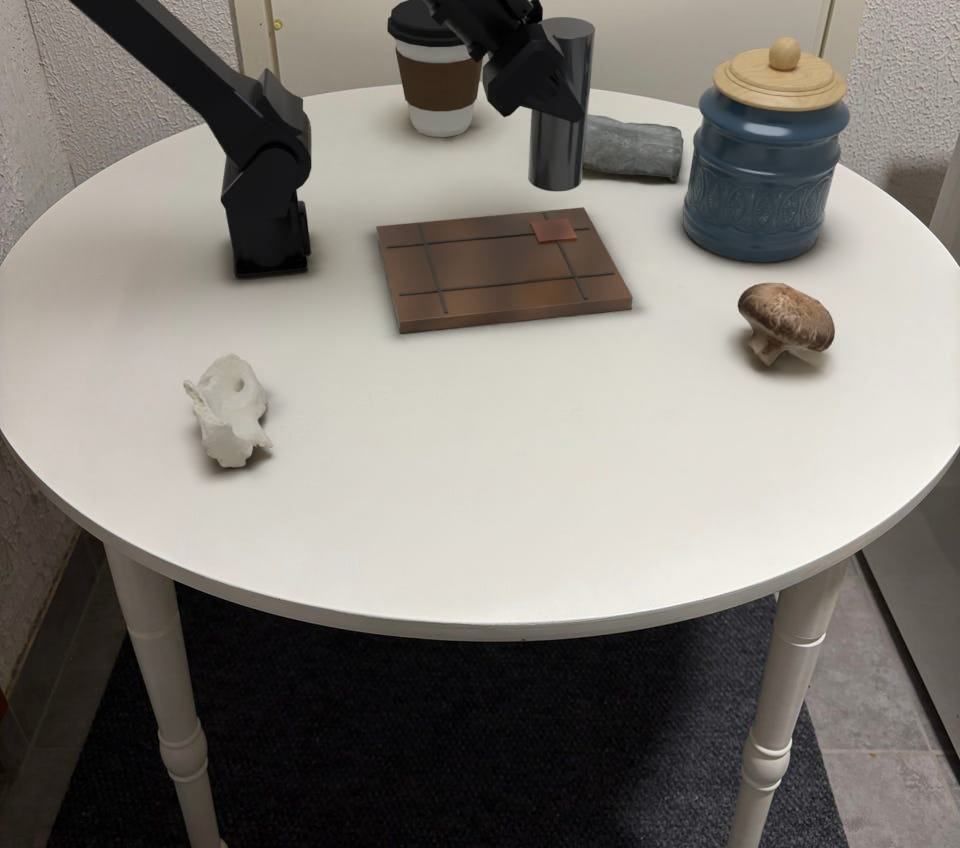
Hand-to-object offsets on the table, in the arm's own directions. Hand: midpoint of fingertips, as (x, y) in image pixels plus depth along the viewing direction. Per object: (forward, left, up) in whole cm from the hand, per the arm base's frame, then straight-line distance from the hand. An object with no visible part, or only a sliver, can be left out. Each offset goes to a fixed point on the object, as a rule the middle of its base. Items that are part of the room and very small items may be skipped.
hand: (575, 105), depth 89 cm
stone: (+9, +16, -13) cm, 23 cm away
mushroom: (+13, -20, -13) cm, 27 cm away
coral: (-31, -22, -13) cm, 40 cm away
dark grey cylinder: (-1, 0, -7) cm, 7 cm away
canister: (+18, -1, -13) cm, 22 cm away
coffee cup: (-7, +27, -13) cm, 31 cm away
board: (-7, -4, -13) cm, 15 cm away
